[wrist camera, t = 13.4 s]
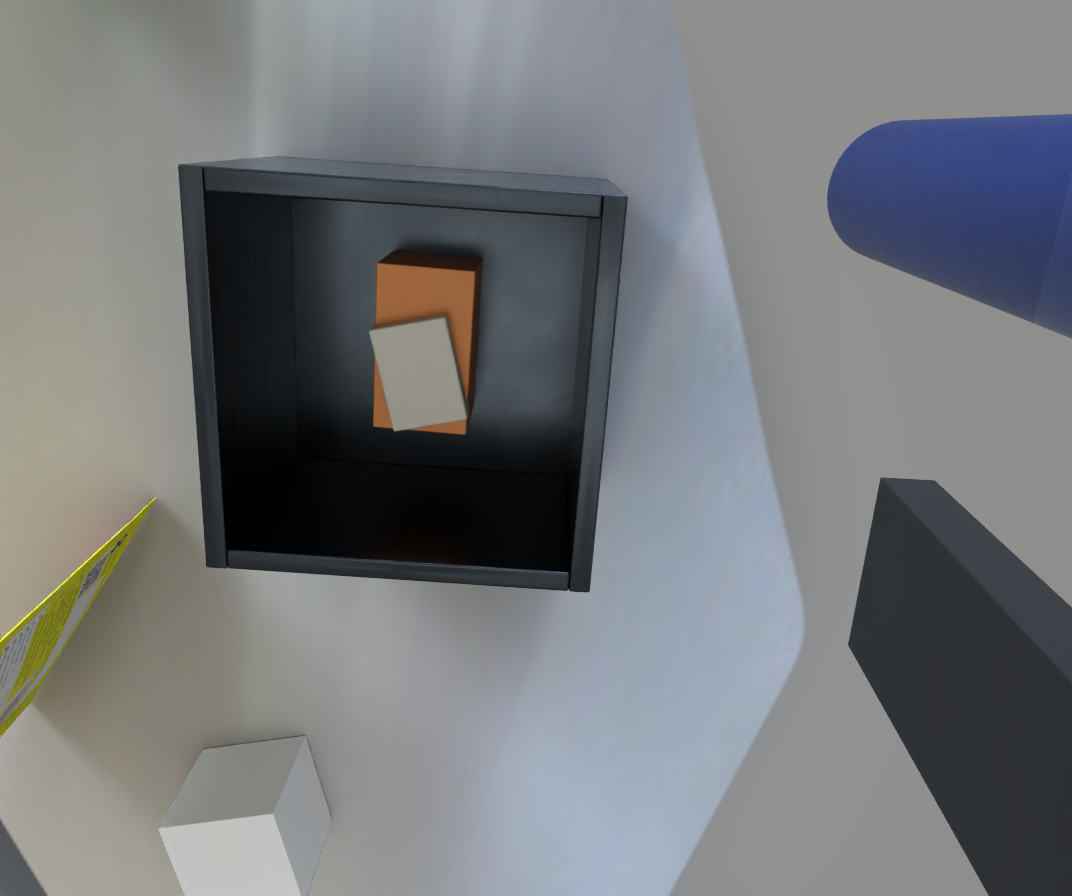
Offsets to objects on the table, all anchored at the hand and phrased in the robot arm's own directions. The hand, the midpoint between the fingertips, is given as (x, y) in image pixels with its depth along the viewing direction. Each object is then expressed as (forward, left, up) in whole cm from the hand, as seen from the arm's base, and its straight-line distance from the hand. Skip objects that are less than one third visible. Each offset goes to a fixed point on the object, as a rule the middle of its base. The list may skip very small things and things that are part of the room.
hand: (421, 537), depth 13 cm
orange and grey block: (+3, +3, -28) cm, 28 cm away
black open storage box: (+3, +3, -29) cm, 29 cm away
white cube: (+12, +30, -29) cm, 44 cm away
